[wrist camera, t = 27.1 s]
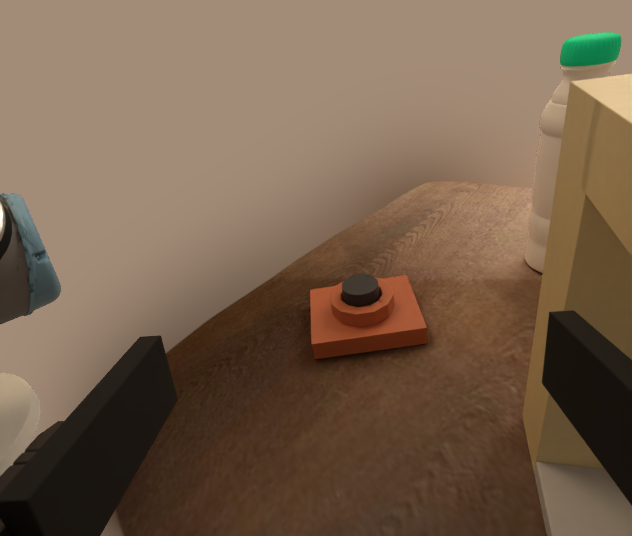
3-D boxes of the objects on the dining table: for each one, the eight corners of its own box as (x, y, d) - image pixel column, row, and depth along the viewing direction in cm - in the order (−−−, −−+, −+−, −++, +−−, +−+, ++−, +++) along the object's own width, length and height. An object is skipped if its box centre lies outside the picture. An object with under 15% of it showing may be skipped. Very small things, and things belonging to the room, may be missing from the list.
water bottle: (572, 286, 47) (619, 39, 34) (513, 266, 52) (534, 45, 39) (599, 259, 51) (652, 25, 38) (541, 243, 56) (569, 32, 43)
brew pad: (314, 359, 44) (308, 331, 42) (313, 303, 53) (307, 277, 51) (427, 343, 43) (426, 313, 41) (407, 289, 52) (405, 262, 50)
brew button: (345, 310, 45) (343, 297, 44) (342, 289, 48) (340, 276, 47) (382, 304, 44) (380, 291, 43) (376, 284, 48) (375, 271, 47)
